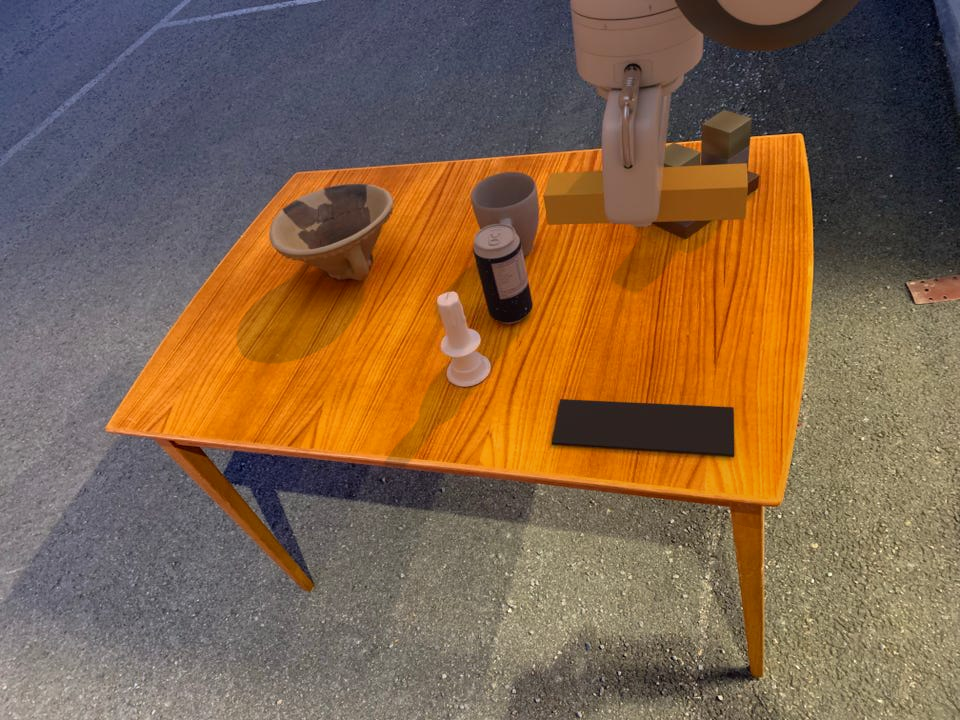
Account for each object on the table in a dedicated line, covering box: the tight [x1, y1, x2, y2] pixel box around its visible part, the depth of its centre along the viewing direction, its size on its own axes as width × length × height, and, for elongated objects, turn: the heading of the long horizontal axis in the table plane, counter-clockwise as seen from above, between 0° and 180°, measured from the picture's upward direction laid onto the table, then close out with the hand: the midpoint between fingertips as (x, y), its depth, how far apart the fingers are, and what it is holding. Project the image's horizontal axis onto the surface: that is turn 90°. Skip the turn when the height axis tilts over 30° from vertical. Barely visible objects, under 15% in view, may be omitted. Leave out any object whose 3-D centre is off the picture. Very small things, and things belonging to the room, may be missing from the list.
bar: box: [542, 163, 748, 226], centre depth 58 cm, size 4×16×3 cm, turn 77°
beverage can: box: [472, 224, 534, 325], centre depth 85 cm, size 6×6×12 cm
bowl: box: [268, 183, 394, 282], centre depth 100 cm, size 18×18×10 cm
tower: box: [651, 109, 761, 240], centre depth 94 cm, size 8×15×10 cm, turn 128°
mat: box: [551, 398, 736, 458], centre depth 72 cm, size 18×6×1 cm, turn 77°
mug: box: [470, 171, 540, 257], centre depth 94 cm, size 12×9×10 cm
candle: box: [436, 291, 492, 388], centre depth 79 cm, size 5×5×12 cm
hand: (644, 204), depth 58 cm, fingers closed on bar, 3 cm apart
